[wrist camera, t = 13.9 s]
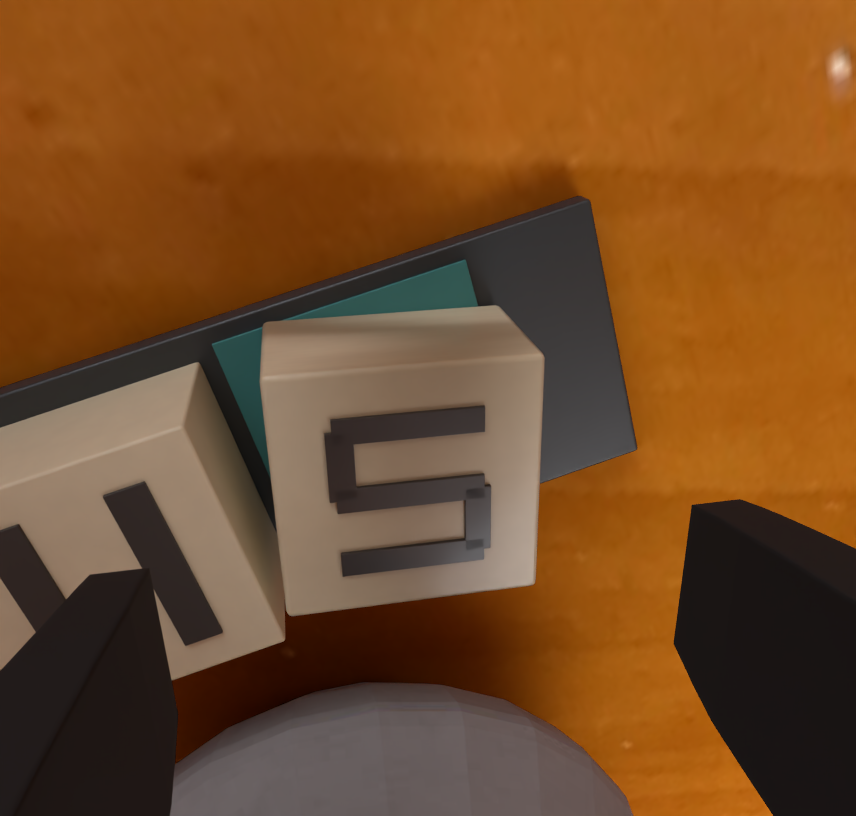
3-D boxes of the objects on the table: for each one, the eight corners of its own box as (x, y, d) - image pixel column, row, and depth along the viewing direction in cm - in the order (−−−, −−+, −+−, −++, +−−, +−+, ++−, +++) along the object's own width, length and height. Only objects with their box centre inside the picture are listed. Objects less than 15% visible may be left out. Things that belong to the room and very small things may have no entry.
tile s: (284, 529, 14) (286, 621, 12) (261, 320, 13) (258, 379, 10) (496, 505, 15) (538, 589, 13) (499, 303, 13) (548, 355, 11)
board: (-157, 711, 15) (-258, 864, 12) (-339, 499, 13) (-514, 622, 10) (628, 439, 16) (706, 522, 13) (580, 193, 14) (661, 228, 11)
